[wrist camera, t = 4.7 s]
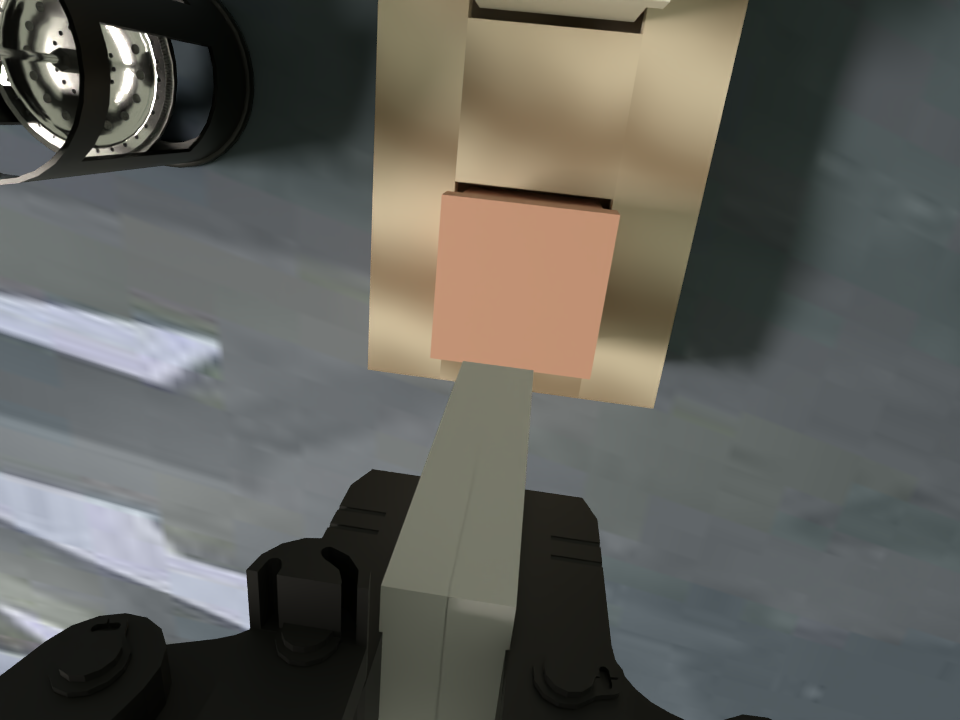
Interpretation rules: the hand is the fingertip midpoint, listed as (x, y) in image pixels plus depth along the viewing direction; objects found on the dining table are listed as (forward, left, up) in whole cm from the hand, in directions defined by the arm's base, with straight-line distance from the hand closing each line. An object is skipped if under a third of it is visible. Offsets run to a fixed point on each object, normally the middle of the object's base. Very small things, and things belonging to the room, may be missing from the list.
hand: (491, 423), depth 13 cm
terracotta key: (0, 0, -18) cm, 18 cm away
